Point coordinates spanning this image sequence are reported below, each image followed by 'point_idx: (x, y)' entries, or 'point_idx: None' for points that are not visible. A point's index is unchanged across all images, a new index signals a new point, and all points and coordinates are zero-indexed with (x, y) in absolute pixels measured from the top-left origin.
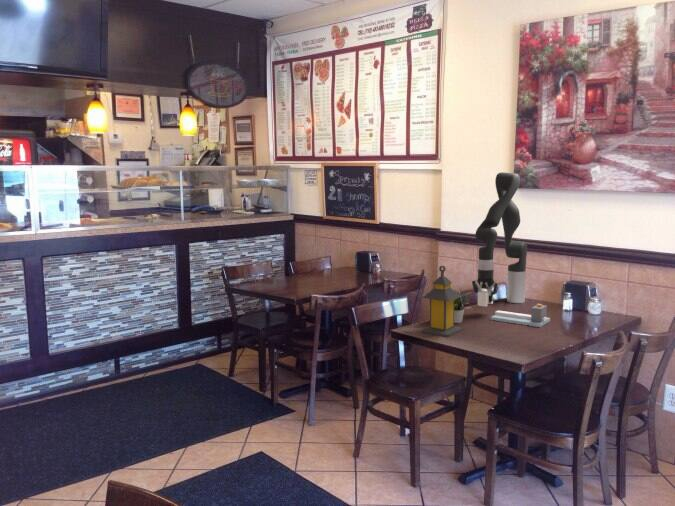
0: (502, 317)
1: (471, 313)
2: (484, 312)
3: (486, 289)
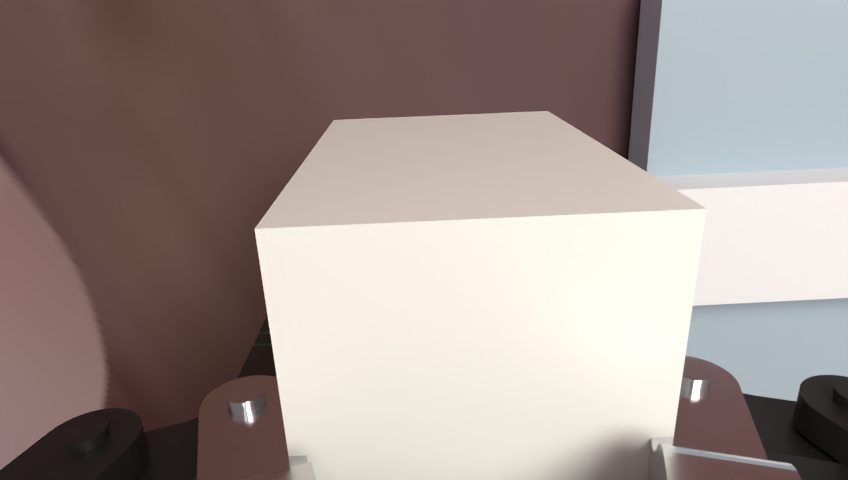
0: (779, 363)
1: (217, 240)
2: (340, 52)
3: (372, 252)
